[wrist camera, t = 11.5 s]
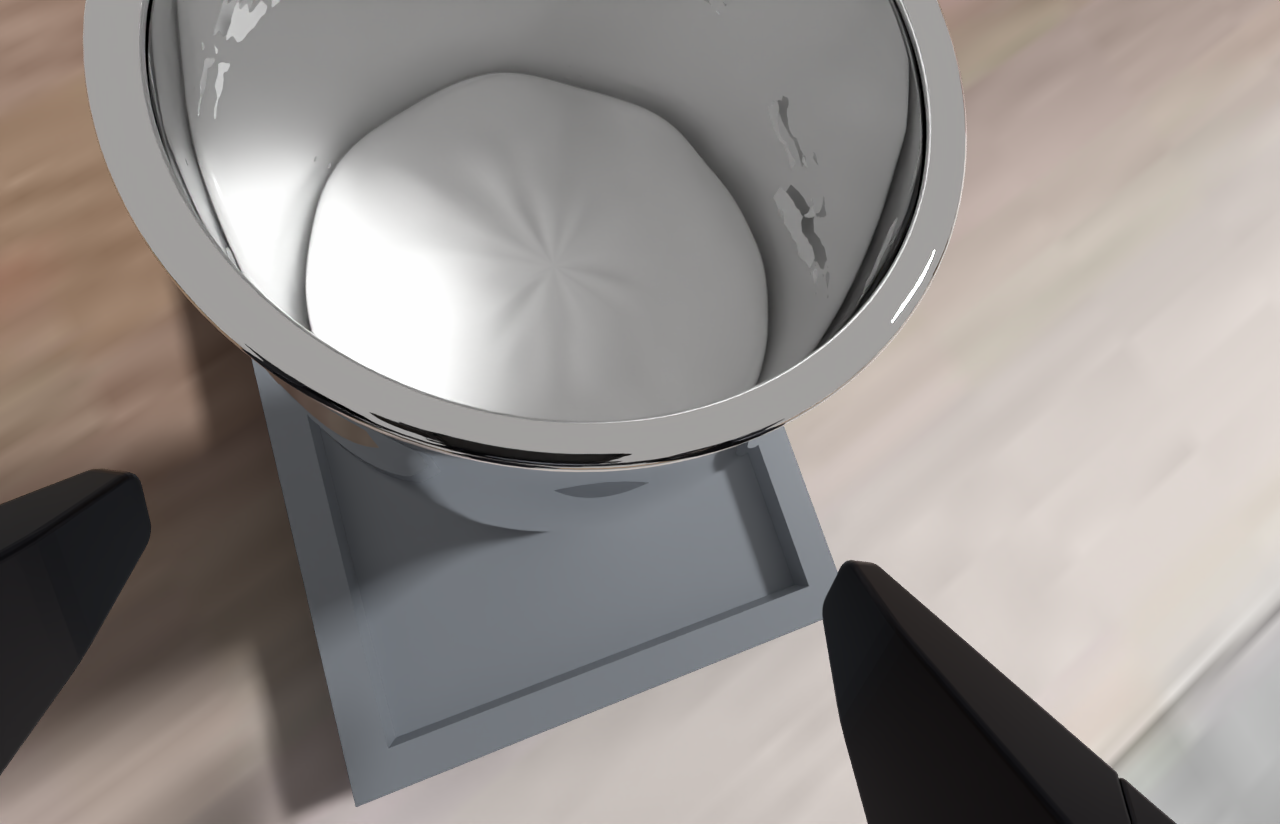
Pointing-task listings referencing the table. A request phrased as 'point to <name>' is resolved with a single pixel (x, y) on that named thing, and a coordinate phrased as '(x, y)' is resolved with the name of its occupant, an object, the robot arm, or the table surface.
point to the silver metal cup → (540, 220)
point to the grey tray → (527, 600)
